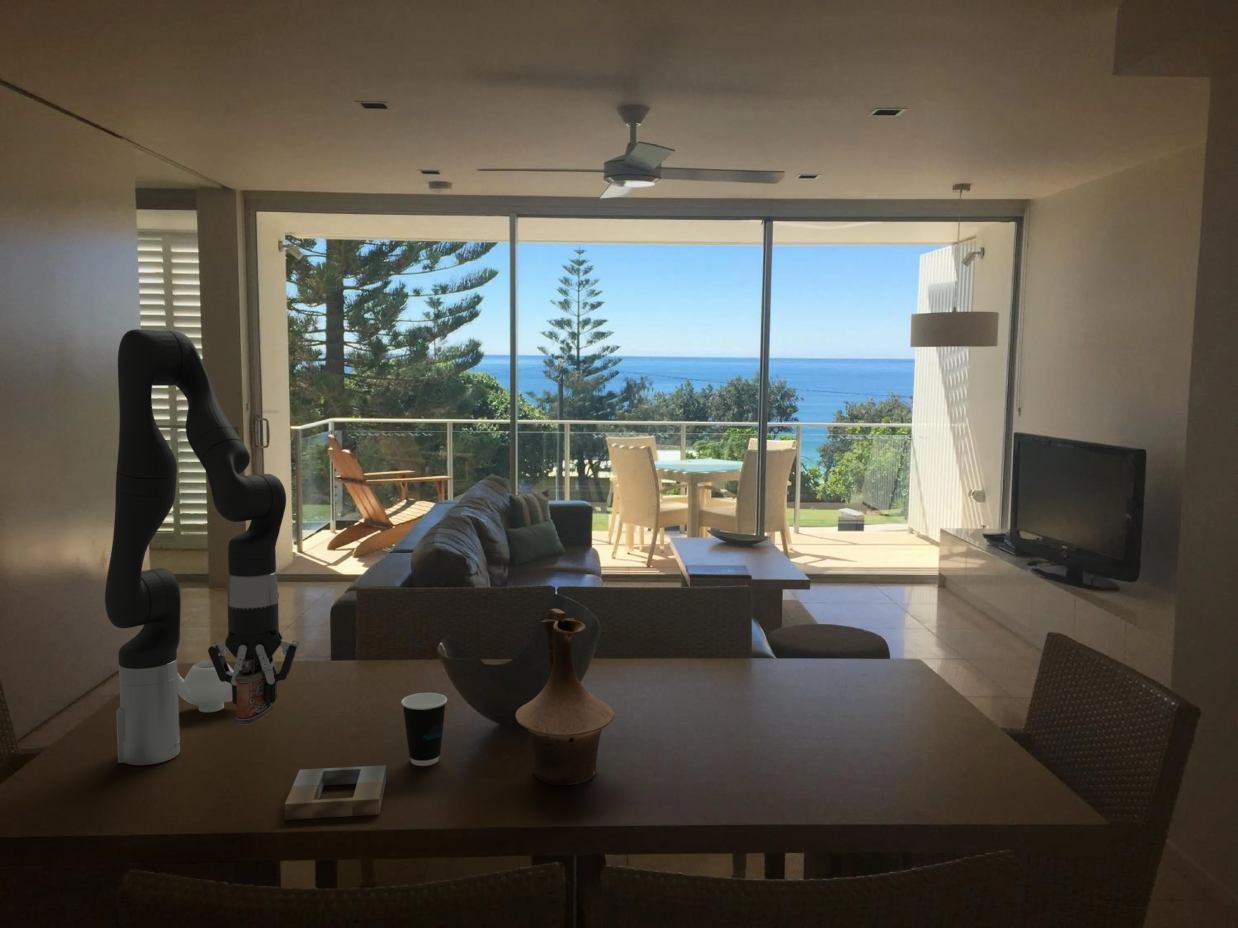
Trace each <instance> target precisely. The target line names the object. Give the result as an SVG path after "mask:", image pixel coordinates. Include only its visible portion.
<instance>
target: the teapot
mask: <svg viewBox="0 0 1238 928" xmlns="http://www.w3.org/2000/svg"><path fill="white" fill-rule="evenodd" d="M227 664H228V667H229V669H230V672H234V669H233V668H232V667H231V665H229V663H228V662H227ZM177 674H178V696H180V697H181V698H182V699H183V700H184V701H185V702H187V703H189V704H191V705H193V706H198V711H199V712H201V713H214V712H218V711H221V710H223V709H224V708H225V703H230V702H233V701H232V685H231V684H230V683H229V682H226V681H225V682H221V681H220V680H219V677H218V675H217V672H216V670H215V667H214V665H213V662H212V660H211V659H208V660H203V661H198V662H197V663H194V664H193V665H192V666H191V668H190V669H189V670H188V672H187V674H186V676H185V678H183V677H182V676H181V675H180V673H179V672H178V671H177Z"/></svg>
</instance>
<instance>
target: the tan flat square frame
mask: <svg viewBox="0 0 1238 928" xmlns="http://www.w3.org/2000/svg"><path fill="white" fill-rule="evenodd" d="M386 783H387V765H384V764H383V765H368V766H346V767H329V768H328V767H327V768H326V767H325V768H322V767H321V768H306V769H305V768H304V769H298V773H297V776H296V778H295V779H294V781H293V784H292V786H291V789H290V791H289V793H288V796H287V798H286V800H285V803H284V820H285V821H288V820H290V821H291V820H305V819H306V820H307V819H322V818H323V819H324V818H340V817H341V818H343V817H357V816H358V817H359V816H376V815H378V816H379V815H380V812H381V807H382V802H383V798H384V793H385V789H386ZM354 784H356V787H355V789H354V793H353V796H352V797H344V798H343V797H342V798H340V797H339V798H322V799H320V797H321V796H322V795H321V794H322V792H323V790H324V787H325V786H335V785H336V786H338V785H354Z"/></svg>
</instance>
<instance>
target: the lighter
mask: <svg viewBox="0 0 1238 928" xmlns="http://www.w3.org/2000/svg"><path fill="white" fill-rule="evenodd" d="M235 681H236V682H237V707H236V716H235V724H236V725H238V726H239V725H241V726H242V725H243V726H245V725H247V726H248V725H250V724H253V723H255V722H258V721H259V720H261V719H263V718H265V717H266V716H267V715H269V714H270V713H271V712H272V711H273V710H274V709H273V708H274V707H273V704H274V703H273V704H272V706H271V707H266V684H267V679H266V676H265V673H264V672H263V669H262V666H261V664H256V662H255V658H253V659H247V660H244V661H242V673H238V674H237V675H236V676H235Z"/></svg>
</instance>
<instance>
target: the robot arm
mask: <svg viewBox="0 0 1238 928" xmlns="http://www.w3.org/2000/svg"><path fill="white" fill-rule="evenodd" d="M117 384H118V386H117V387H118V404H119V405H118V406H119V427H118V429H119V430H118V431H119V433H118V434H119V435H118V449H117V450H118V451H117V462H116V473H115V474H116V475H115V496H114V497H115V505H114V522H113V523H114V524H113V526H114V527H113V536H112V543H111V544H112V545H111V552H110V558H109V565H108V569H107V576H106V583H105V593H104V602H105V611H106V615H107V618H108V620H109V622H110V623H111V624H112V625H113V626H114V627H116V628H118V629H129V628H130V629H131V628H135V627H136V628H137V627H139V626H143V627H142V628H141V630H140V631H139V632H138V633H137V634H136V635H135V636H134V637H132V638H131V639H130V640H129V641H127V642H125V643H124V644H123V645H121V647H120V648H119V650H118V675H119V677H118V678H119V681H118V682H119V698H120V700H119V701H120V706H119V707H118V708H117V709H116V711H115V713H116V714H115V715H116V735H117V736H116V737H117V738H116V743H117V763H118V764H128V765H132V766H150V765H156V764H160V763H164V762H167V761H169V760H172V759H174V758H175V757H177V756H178V755H179V754H180V752H181V738H180V710H179V709H180V707H179V706H180V705H179V703H180V702H179V694H178V674H177V672H178V648H179V645H180V640H181V609H182V608H181V605H182V604H181V601H182V600H181V590H180V585H179V583H178V579H177V577H176V576H175V575H174V573H173V572H171V570H169V569H167V568H162V567H161V568H159V567H158V568H151V569H146V570H143V566H144V565H143V564H144V560H145V557H146V556H145V555H146V552H147V549H148V547H149V545H150V543H151V541H153V539H154V536H155V535H156V533H157V532H158V531H159V529H160V527H161V526H162V525H163V523H164V522H165V520H166V519H167V517H168V515H169V513H170V512H171V509H172V508H173V505H174V504H175V503H174V502H175V499H176V491H177V490H176V489H177V477H178V465H177V464H178V463H177V459H176V456H175V454H174V452H173V450H172V448H171V446H170V445H169V443H168V442H167V440H166V438H165V437H164V435H163V432H162V431H161V430H160V428H159V426H158V424H157V421H156V419H155V416H154V412H153V403H152V398H153V397H152V393H153V392H152V390H153V386H154V387H157V386H159V387H160V386H165V387H166V386H167V387H168V386H170V387H171V386H175V387H177V388H178V389H179V391H180V392H181V393H182V394H183V396H184V397H185V399H186V400H187V412H186V413H187V415H186V421H185V433H186V434H185V435H186V439H187V442H188V444H189V446H190V448H191V450H192V451H193V452H194V455H195V456H196V458H197V459H198V461H199V462H200V464H201V466H202V467H203V469H204V470H205V472H206V476H207V479H208V484H209V487H210V490H211V491H210V492H211V496H212V500H213V504H214V507H215V509H216V511H217V513H219V515H220V516H221V517H223V518H224V519H225V520H228V521H230V522H232V523H241V522H247V521H250V522H249V523H250V524H249V526H248V528H247V530H245V531H244V532H242V533H240V534H238V535H236V536H234V537H232V538H231V539H230V541H229V543H228V547H227V548H228V549H227V558H228V560H227V562H228V563H227V564H228V577H227V578H228V579H227V580H228V581H227V588H226V593H227V629H228V633H227V637H226V638H225V640H224V641H222V642H214V643H212V645H211V646H209V648H208V649H207V652H208V654H209V655H208V656H209V657H210V660H212V662H213V665H214V667H215V670H216V672H217V675H218V677H219V680H220V681H221V682H225V681H226V682H229V683H230V684H231V685H232V701H231V702H232V703H233V705H236V708H237V682H236V681H235V676H236V675H237V674H238V673H242V661H244V660H247V659H253V658H255V662H256V664H261V666H262V669H263V672H264V673H265V676H266V679H267V684H266V707H271V706H272V704H275V702H276V701H277V699H278V682H280V681H285V680H286V679H287V678H288V675H290V672H291V669H292V666H293V664H294V663H293V662H294V660H295V657H296V655H297V651H298V649H299V646H300V643H299V642H298V640H293V641H290V640H287V639H283V637H282V636H283V635H281V632H280V628H279V627H280V625H279V624H280V621H279V619H280V618H279V598H280V593H279V586H278V584H279V583H278V577H277V559H276V557H277V554H276V553H277V552H276V550H277V549H276V546H277V543H278V538H279V535H280V530H281V528H282V527H281V526H282V523H283V519H284V515H285V510H286V506H287V493H286V489H285V486H284V484H283V482H282V481H281V480H280V478H279V477H277V476H276V475H275V474H271V473H260V474H251V475H250V474H249V475H240V474H241V473H243V472H244V471H246V469H247V468H248V466H249V464H250V462H251V456H250V453H249V450H248V448H247V447H246V445H245V444H244V442H243V441H242V439H241V437H239V435H238V433H237V432H236V430H235V429H234V427H233V426H232V424H231V423H230V421H229V419H228V417H227V416H226V414H225V412H224V410H223V408H222V406H221V405H220V402H219V400H218V397H217V394H216V392H215V390H214V387H213V384H212V382H211V379H210V376H209V375H208V373H207V370H206V367H205V366H204V363H203V360H202V358H201V356H200V353H199V352H198V349H197V348H196V346H195V345H194V342H192V340H191V339H190V337H188V336H187V335H186V334H184V333H183V332H179V331H174V330H155V329H139V328H137V329H130V330H128V331H126V332H125V333H124V334H123V336H122V337H121V339H120V342H119V345H118V352H117ZM279 647H280V648H281V650H282V651H281V652H282V655H285V656H284V659H283V663H282V665H281V668H280V670H277V668H276V661H275V659H274V654H275V652H277V650H278V649H279ZM227 650H228V651H229V652H230V653H231V654H232V656H233V658H235V663H234V667H233V671H234V672H230V669H229V667H228V664H229V663H228V662H227V659H226V657H225V655H226V654H227ZM227 663H228V664H227Z"/></svg>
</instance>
